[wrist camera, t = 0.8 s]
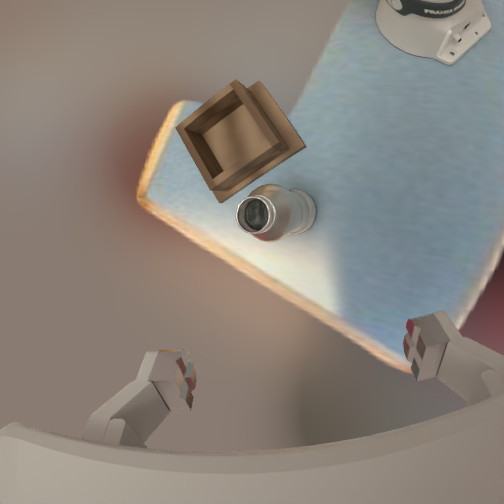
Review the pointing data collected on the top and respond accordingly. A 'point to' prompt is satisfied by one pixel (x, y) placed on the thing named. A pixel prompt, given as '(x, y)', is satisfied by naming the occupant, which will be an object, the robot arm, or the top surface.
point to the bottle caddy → (238, 138)
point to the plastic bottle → (275, 212)
